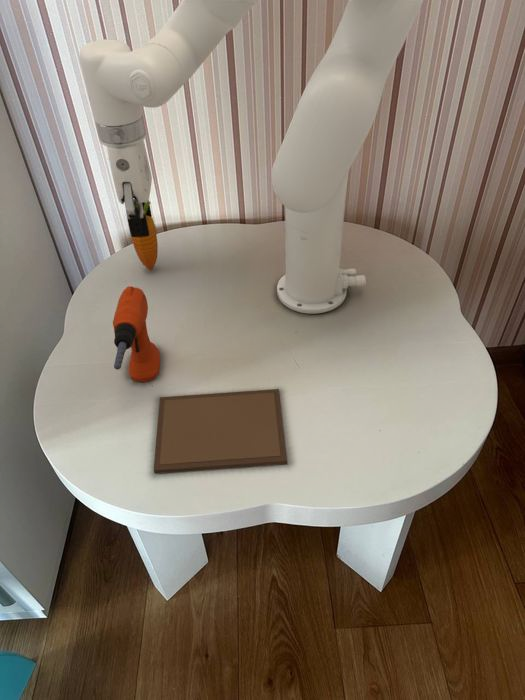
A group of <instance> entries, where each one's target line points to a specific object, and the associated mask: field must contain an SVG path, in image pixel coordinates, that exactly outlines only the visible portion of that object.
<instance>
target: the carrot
mask: <svg viewBox="0 0 525 700" xmlns="http://www.w3.org/2000/svg"><path fill="white" fill-rule="evenodd" d="M134 205H135V206H136V208H137V209H138V210H139V208H138V204H134ZM149 205H150V206H151V201H150V200H149V201H147V202H146V203H145V205H144V208H143V213H144V215H146V212H147V210H148V207H149ZM135 206H134V207H135ZM146 219H147V224H148V229H149V236H145V237H132V236H131V233H130V232H129V233H130V238H131V241H132V244H133V248H134V250H135V252H136V255H137V257H138V259H139V261H140V262H141V264H142V265H143V266H144V268H146V270H148V271H153V270H154V268H155V265H156V263H157V260H158V251H159V250H158V249H159V248H158V247H159V245H158V235H157V229H156V225H155V222H154V219H153V216H152V217H150V216H147V215H146ZM127 226H128V227H129V225H128V224H127ZM128 230H129V231H130V229H129V228H128Z"/></svg>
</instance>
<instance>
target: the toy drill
mask: <svg viewBox="0 0 525 700" xmlns="http://www.w3.org/2000/svg"><path fill="white" fill-rule="evenodd" d="M148 312H149V304H148V299H147V296H146V294H145V293H144V291H143V290H142V289H141V288H139V287H135V286H132V285H128V286H126V288H125V289H124V290H122V292H121V294H120V296H119V298H118V301H117V305H116V309H115V312H114V316H113V320H112V327H113V333H114V340H113V343H114V345H115V347H116V348H117V350H116V355H115V360H114V364H113V368H114V369H115V370H116V371H117V370H121V368H122V364H123V361H124V357H125V353H126V351H127V350H129V349H131V350H130V351H131V353H130V357H129V364H128V376H129V377H130V379H131V381H133V382H137V383H147V382H150V381H154V379H156V378H157V377H158V375H159V373H160V369H161V353H160V350H159V348H158V347H157V345H156V344H155V343H154V342H152V341H151V339H150V336H149V332H148V328H147V318H148Z"/></svg>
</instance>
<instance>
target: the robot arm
mask: <svg viewBox="0 0 525 700" xmlns="http://www.w3.org/2000/svg"><path fill="white" fill-rule="evenodd" d="M257 1H258V0H180V3H179V4H178V5H177V7H176V9H175V10H174V11H173V12H172V14H171V16H170V17H169V18H168V20H167V21H166V22H165V24H164V25H163V26H162V28H161V29H160V30H159V31H158V32H157V33H156V34H155V36H153V37H152V38H151V39H148V41H146V42H145V43H144V44H143V45H142V46H140V47H138V48H136V49H134V50H132V51H131V48H130V46H129V45H128V43H126V42H125V41H123V40H119V39H115V38H114V39H113V38H105V39H98V40H93V41H91V42H88V43H86V44H84V45H83V46H82V47H81V49H80V52H79V60H80V64H81V65H80V66H81V70H82V74H83V79H84V82H85V87H86V90H87V94H88V99H89V103H90V108H91V111H92V116H93V119H94V124H95V129H96V133H97V136H98V139H99V140H98V141H99V143H100V144H101V145H103V146H105V147H106V148H107V154H108V161H109V166H110V171H111V175H112V180H113V184H114V189H115V193H116V196H117V197H116V198H117V200H118V202H119V204H121V205H124V208H125V214H126V221H127V226H128V225H129V226H128V230H129V229H130V230H129V233H131V234H130V237H131V236H132V237H145V236H149V229H148V224H147V219H146V215H147V216H150V217H152V218H153V215H152V211H151V204H150V205H149V207H148V210H147V212H146V215H144V213H143V208H144V205H145V203H146V202H147V201H149V202H150V196H151V189H152V183H153V182H152V181H153V176H152V171H151V167H150V162H149V157H148V153H147V149H146V145H145V140H146V137H147V129H146V125H145V120H144V119H145V118H144V115H143V114H144V113H143V108H142V107H145V108H150V109H151V108H158V107H162V106H163V105H165V104H166V103H168V102H169V101H170V100H171V99H172V98H173V97H174V95H176V93H177V92H178V91H179V90H180V89H181V88H182V87H183V86H184V85H185V84H186V83H187V82H188V81H189V80H190V79H191V78H192V77H193V75H194V74H195V73H196V72H197V71H198V69H199V68H200V67H201V66H202V65H203V64H204V62H205V61H206V59H207V58H208V57H209V56H210V55H211V54H212V53H213V51H214V50H215V49H216V47H218V45H219V44H220V42H221V41H222V40H223V39H224V38H225V36H226V35H227V34H228V33H229V32H230V31H232V30H233V29H235V28H236V27H237V26H238V24H240V22H241V20H242V19H243V18H244V17H245V16H246V15H247V13H248V12H250V10H251V8H252V7H253V6H254V5H255V4H256V3H257ZM423 3H424V0H348V1H347V3H346V6H345V8H344V11H343V14H342V17H341V19H340V21H339V24H338V26H337V29H336V31H335V32H334V35H333V38H332V39H331V42H330V43H329V46H328V48H327V50H326V52H325V54H324V56H323V57H322V58H321V60H320V61H319V63H318V64H317V66H316V68H315V69H314V71H313V73H312V75H311V76H310V79H309V80H308V82H307V84H306V86H305V87H304V90H303V92H302V94H301V97H300V99H299V102H298V103H297V106H296V108H295V111H294V114H293V116H292V118H291V121H290V124H289V126H288V128H287V130H286V133H285V135H284V138H283V140H282V143H281V145H280V148H279V150H278V152H277V154H276V157H275V159H274V162H273V165H272V168H271V175H270V177H271V178H270V179H271V187H272V190H273V192H274V195H275V197H276V198H277V200H278V201H279V203H281V204H282V206H284V207H285V208H284V209H285V212H284V213H285V215H284V218H285V219H284V223H285V224H284V225H285V226H284V231H285V232H284V233H285V235H284V236H285V237H284V239H285V240H284V242H285V243H284V244H285V245H284V247H285V248H284V249H285V254H284V255H285V256H284V257H285V261H284V262H285V263H284V264H285V266H284V267H285V274H284V275H282V276H281V277H280V278H279V280H278V282H277V285H276V294H277V298H278V299H279V301H280V302H281V304H282V305H284V306H285V307H286V308H288V309H290V310H292V311H294V312H298V313H301V314H308V315H311V314H316V315H317V314H322V313H327V312H330V311H333V310H335V309H336V308H338V307H339V306H340V305H341V304H343V302H344V301H345V299H346V298H347V290H348V289H349V287H366V285H367V284H366V283H367V278H366V275H365V274H359V275H357V269H356V268H347V269H343V268H341V258H342V257H341V256H342V246H343V245H342V244H343V230H344V221H345V220H344V219H345V209H346V198H347V189H348V180H349V173H350V169H351V167H352V165H353V164H354V161H355V160H356V158H357V156H358V154H359V152H360V151H361V148H362V147H363V144H364V143H365V141H366V139H367V138H368V135H369V133H370V131H371V129H372V126H373V124H374V121H375V120H376V117H377V113H378V110H379V107H380V104H381V103H380V102H381V101H382V100H381V99H382V96H383V93H384V88H385V85H386V82H387V79H388V77H389V75H390V73H391V71H392V69H393V66H394V64H395V63H396V60H397V58H398V56H399V55H400V52H401V51H402V48H403V46H404V44H405V42H406V40H407V37H408V36H409V33H410V31H411V29H412V28H413V25H414V24H415V20H416V18H417V17H418V14H419V12H420V10H421V8H422V5H423ZM134 204H138V208H139V210H138V209H137V208H136V206H135V205H134ZM134 206H135V207H134Z"/></svg>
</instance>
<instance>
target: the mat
mask: <svg viewBox="0 0 525 700" xmlns="http://www.w3.org/2000/svg"><path fill="white" fill-rule="evenodd" d="M158 402H159V403H158V414H157V426H156V438H155V449H154V460H153V473H154V474H165V473H179V472H181V473H182V472H193V471H207V470H208V471H209V470H220V469H221V470H223V469H234V468H235V469H236V468H247V467H248V468H249V467H261V466H263V467H264V466H275V465H276V466H277V465H287V464H288V458H287V449H286V441H285V433H284V424H283V415H282V407H281V406H282V405H281V396H280V389H279V388H273V389H271V388H270V389H258V390H245V391H232V392H228V391H227V392H215V393H202V394H201V393H200V394H188V395H185V394H184V395H173V396H172V395H171V396H160V397H159V401H158Z"/></svg>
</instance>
